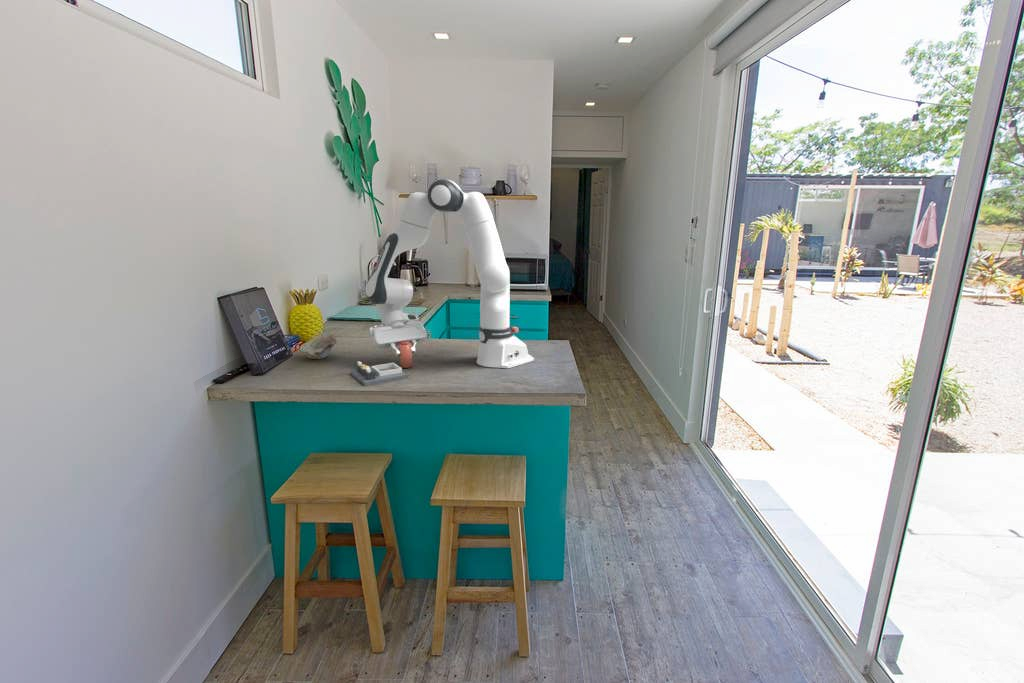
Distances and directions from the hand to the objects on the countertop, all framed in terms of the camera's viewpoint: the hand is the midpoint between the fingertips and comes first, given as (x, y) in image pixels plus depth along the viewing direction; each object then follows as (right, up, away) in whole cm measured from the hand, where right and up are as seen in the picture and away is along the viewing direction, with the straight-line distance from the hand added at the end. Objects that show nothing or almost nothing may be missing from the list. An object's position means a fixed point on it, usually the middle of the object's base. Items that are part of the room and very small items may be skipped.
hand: (406, 353), depth 185 cm
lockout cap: (0, -5, +2) cm, 5 cm away
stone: (-37, -3, +12) cm, 39 cm away
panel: (-8, -8, -8) cm, 14 cm away
